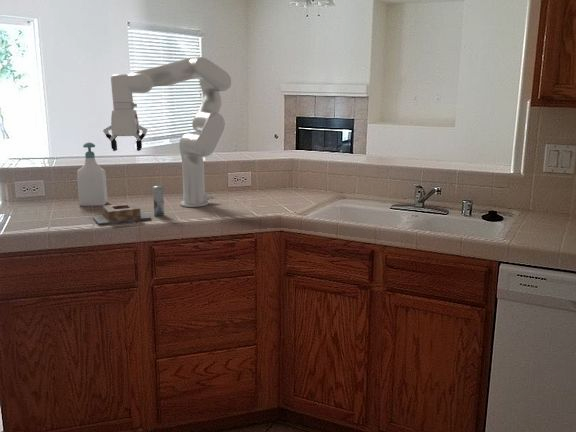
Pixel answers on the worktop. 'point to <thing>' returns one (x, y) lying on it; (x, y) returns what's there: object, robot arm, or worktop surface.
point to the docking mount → (120, 214)
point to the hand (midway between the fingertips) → (127, 150)
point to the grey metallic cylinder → (158, 201)
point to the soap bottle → (91, 181)
